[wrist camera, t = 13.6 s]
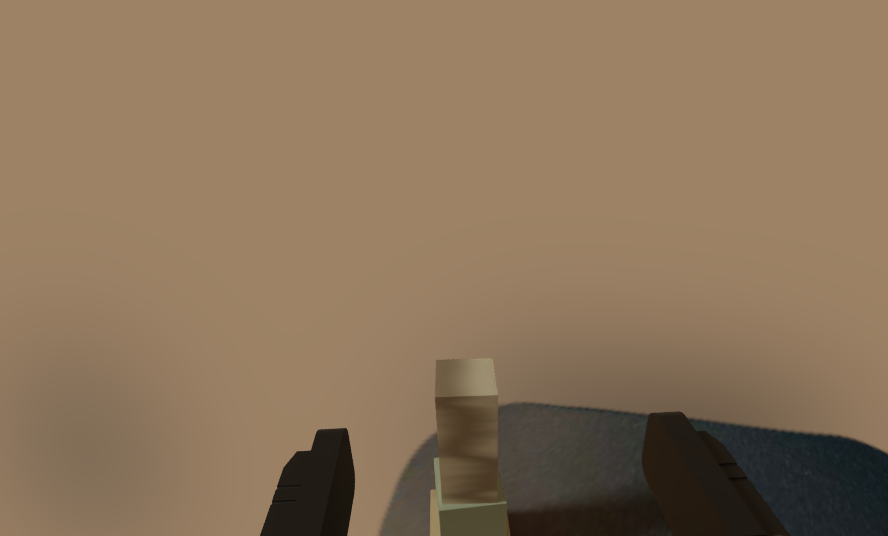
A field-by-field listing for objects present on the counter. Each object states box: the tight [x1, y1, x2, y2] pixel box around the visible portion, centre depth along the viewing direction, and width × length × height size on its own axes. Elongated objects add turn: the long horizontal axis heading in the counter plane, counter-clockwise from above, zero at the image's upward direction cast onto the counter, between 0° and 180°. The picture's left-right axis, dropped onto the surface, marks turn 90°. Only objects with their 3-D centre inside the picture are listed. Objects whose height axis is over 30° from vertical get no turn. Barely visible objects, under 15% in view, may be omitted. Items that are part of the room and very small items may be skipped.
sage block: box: [434, 458, 507, 536], centre depth 43 cm, size 6×6×5 cm
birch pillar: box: [435, 358, 498, 505], centre depth 39 cm, size 4×4×11 cm
